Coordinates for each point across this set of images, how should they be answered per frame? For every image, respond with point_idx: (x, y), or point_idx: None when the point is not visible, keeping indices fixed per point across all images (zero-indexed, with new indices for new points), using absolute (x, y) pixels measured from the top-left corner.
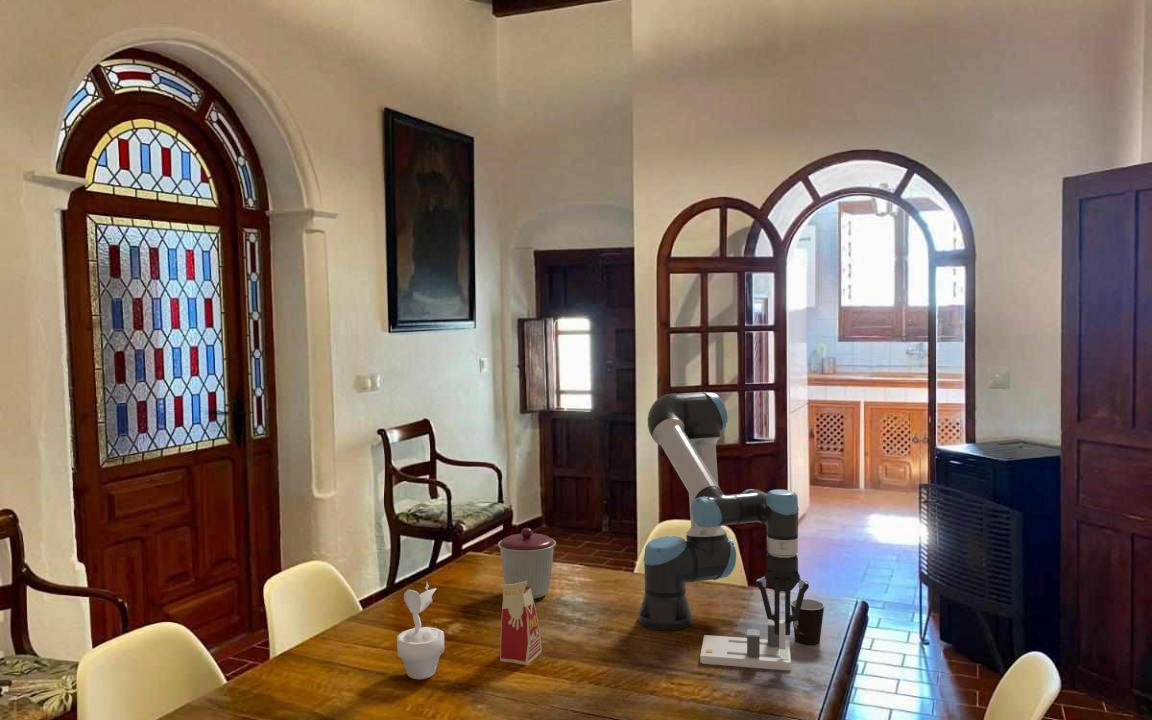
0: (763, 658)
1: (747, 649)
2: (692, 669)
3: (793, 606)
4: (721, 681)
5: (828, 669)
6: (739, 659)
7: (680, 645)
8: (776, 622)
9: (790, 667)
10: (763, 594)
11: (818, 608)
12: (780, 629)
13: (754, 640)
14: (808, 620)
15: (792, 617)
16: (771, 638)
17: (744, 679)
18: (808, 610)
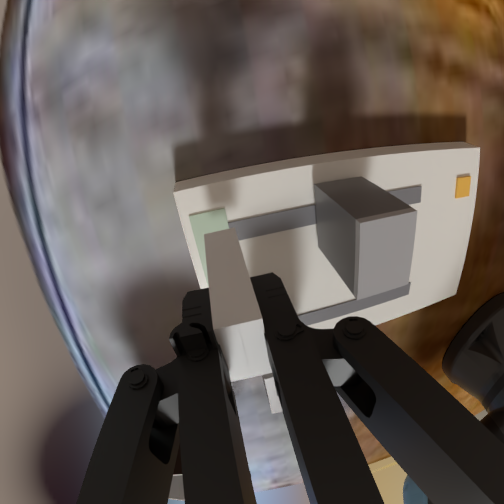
0: (295, 188)
1: (374, 184)
2: (473, 96)
3: None
4: (399, 16)
5: (62, 252)
6: (381, 154)
7: (486, 242)
8: (285, 319)
9: (175, 186)
10: (501, 469)
11: (172, 481)
12: (244, 290)
13: (369, 205)
14: None
15: (166, 390)
16: None
17: (336, 40)
18: (177, 472)
